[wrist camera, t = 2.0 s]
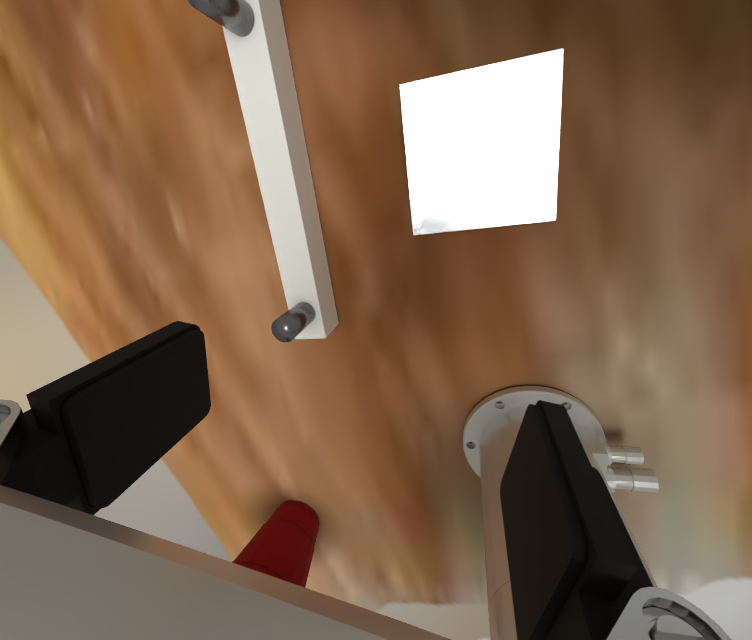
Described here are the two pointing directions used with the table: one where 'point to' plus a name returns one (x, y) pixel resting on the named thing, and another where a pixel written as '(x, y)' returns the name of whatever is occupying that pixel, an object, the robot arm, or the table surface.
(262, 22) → the bar
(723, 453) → the table surface
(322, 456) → the table surface
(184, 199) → the table surface
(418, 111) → the metal plate
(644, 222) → the table surface
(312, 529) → the plastic cup
